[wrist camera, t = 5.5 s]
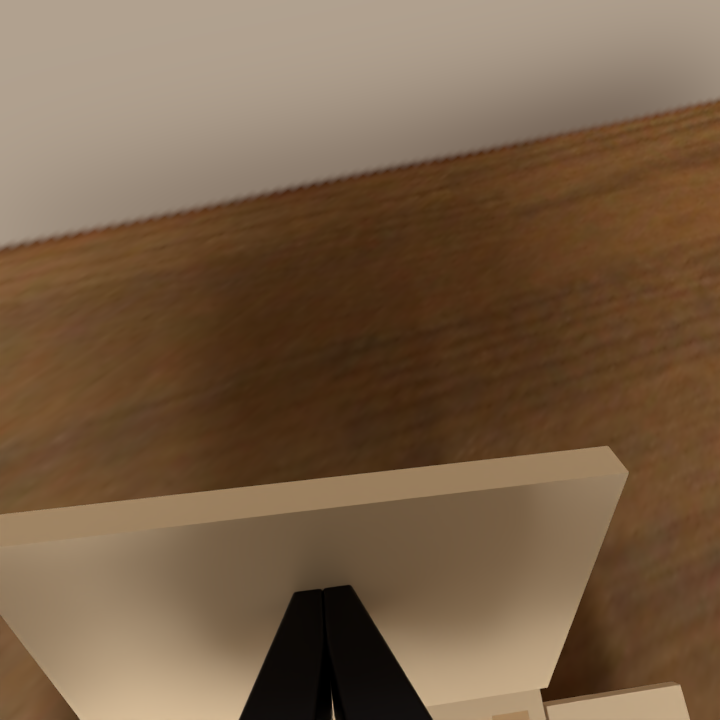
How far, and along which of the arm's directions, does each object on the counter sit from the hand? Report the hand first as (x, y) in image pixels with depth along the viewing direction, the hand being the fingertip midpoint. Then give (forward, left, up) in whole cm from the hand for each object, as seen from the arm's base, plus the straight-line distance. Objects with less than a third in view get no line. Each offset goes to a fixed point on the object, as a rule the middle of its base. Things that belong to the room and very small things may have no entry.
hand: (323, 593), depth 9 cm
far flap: (-3, +1, -4) cm, 5 cm away
